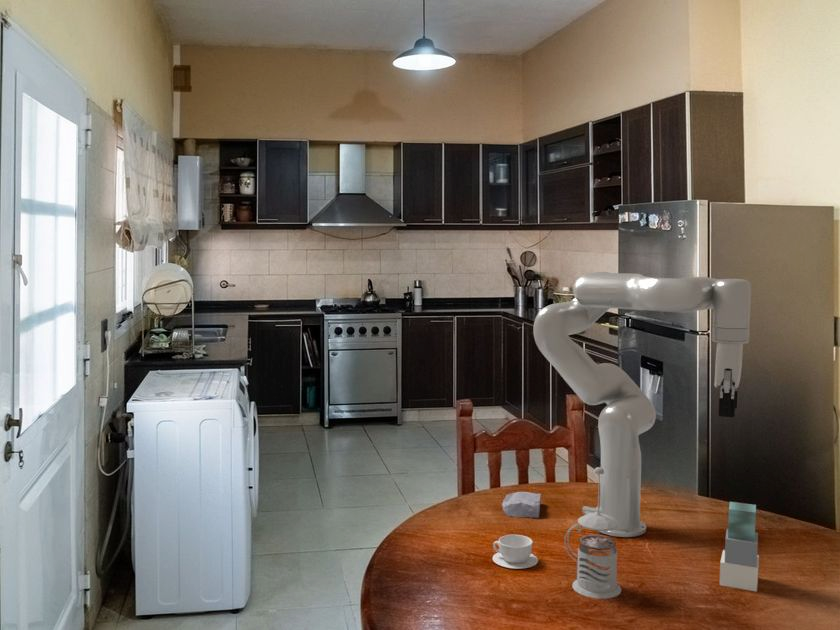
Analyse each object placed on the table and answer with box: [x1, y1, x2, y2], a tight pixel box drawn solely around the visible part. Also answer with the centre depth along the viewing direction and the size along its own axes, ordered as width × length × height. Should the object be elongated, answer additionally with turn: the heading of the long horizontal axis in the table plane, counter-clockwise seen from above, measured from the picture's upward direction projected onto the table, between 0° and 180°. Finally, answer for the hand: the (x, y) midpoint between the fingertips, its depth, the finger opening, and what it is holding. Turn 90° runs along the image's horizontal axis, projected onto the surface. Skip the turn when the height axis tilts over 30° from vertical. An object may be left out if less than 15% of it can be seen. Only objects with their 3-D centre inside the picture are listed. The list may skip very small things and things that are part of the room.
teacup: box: [492, 534, 539, 570], centre depth 171 cm, size 10×10×5 cm
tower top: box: [724, 528, 759, 568], centre depth 159 cm, size 6×6×5 cm
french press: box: [564, 466, 622, 600], centre depth 157 cm, size 10×12×25 cm
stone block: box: [501, 491, 542, 519], centre depth 203 cm, size 12×5×10 cm
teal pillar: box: [727, 501, 757, 542], centre depth 159 cm, size 5×5×6 cm
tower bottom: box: [719, 549, 760, 592], centre depth 160 cm, size 7×7×5 cm
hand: (727, 412), depth 172 cm, fingers open, 9 cm apart
